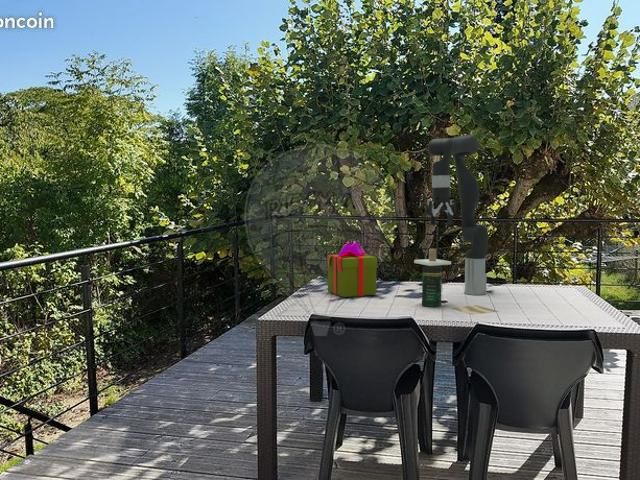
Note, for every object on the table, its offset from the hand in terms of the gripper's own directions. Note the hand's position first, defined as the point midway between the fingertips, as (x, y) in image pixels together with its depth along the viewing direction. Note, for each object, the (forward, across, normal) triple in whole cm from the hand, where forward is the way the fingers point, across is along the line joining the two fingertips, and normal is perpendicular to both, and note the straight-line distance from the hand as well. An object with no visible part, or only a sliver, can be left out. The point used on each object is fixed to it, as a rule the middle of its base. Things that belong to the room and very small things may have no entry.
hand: (441, 224), depth 243 cm
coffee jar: (+35, +7, +1) cm, 35 cm away
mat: (+35, -3, +16) cm, 39 cm away
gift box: (+34, +22, -41) cm, 58 cm away
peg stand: (+16, +6, +1) cm, 17 cm away
